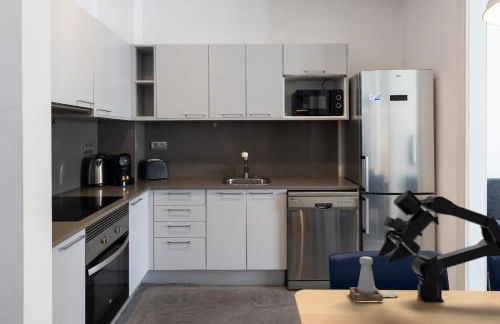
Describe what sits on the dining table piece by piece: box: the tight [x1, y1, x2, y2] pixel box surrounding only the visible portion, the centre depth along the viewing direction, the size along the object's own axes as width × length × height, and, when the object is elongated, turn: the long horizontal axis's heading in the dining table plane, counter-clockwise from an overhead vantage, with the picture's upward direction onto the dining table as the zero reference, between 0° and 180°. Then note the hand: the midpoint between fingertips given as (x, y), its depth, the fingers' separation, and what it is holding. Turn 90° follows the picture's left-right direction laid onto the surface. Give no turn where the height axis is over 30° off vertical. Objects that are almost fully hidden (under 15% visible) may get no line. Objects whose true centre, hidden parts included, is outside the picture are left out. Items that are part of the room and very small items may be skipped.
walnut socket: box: [349, 287, 384, 303], centre depth 143 cm, size 9×9×2 cm
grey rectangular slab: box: [382, 291, 398, 297], centre depth 145 cm, size 7×5×1 cm
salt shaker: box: [357, 256, 376, 295], centre depth 143 cm, size 6×6×13 cm
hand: (383, 259), depth 141 cm, fingers open, 9 cm apart
